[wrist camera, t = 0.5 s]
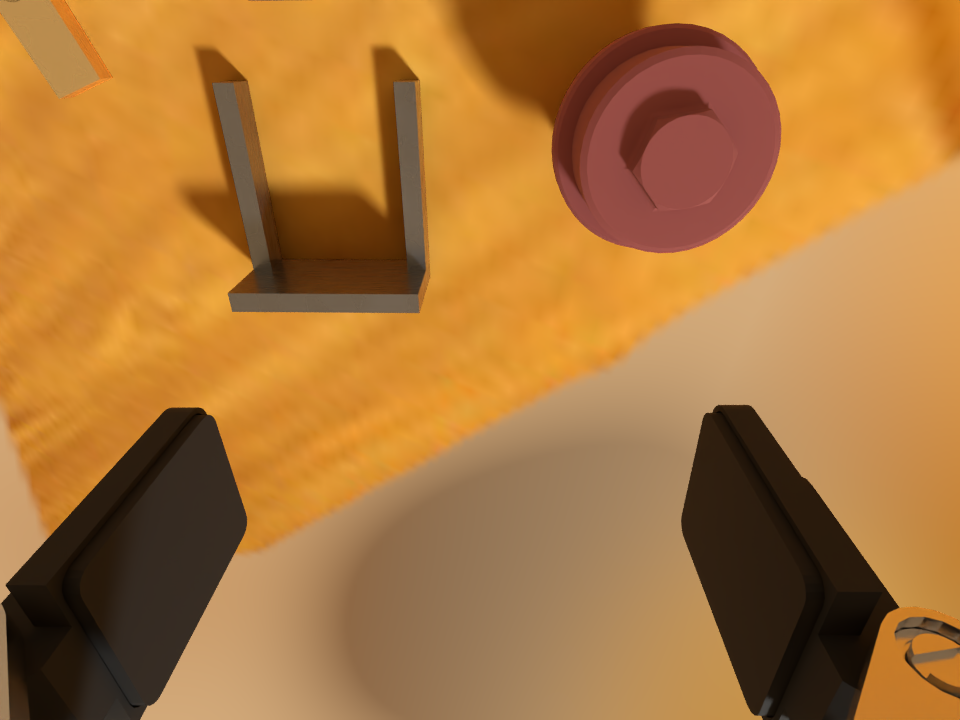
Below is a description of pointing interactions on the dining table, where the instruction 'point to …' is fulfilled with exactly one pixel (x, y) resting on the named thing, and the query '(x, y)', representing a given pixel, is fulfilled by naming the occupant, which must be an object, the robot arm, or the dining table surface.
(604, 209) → the mechanical component
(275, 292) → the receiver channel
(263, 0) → the aluminium block
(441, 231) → the dining table surface
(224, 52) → the dining table surface
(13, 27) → the brass key tag
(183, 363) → the dining table surface
